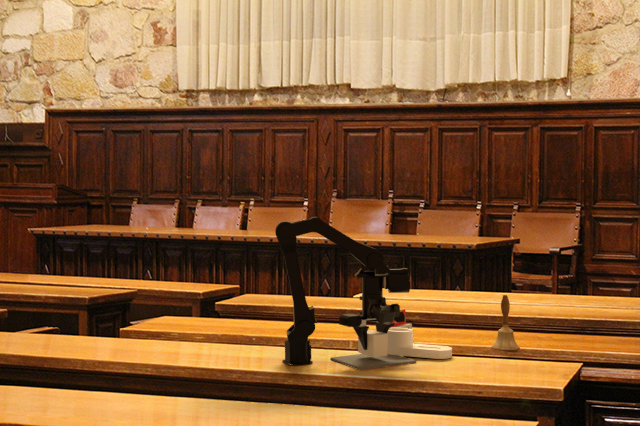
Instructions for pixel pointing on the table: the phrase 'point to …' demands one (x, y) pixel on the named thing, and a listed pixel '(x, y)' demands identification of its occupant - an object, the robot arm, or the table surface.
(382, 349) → the card deck box
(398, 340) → the bracket
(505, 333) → the hand bell
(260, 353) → the table surface
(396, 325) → the ink cartridge box
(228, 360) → the table surface
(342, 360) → the grey rubber mat
